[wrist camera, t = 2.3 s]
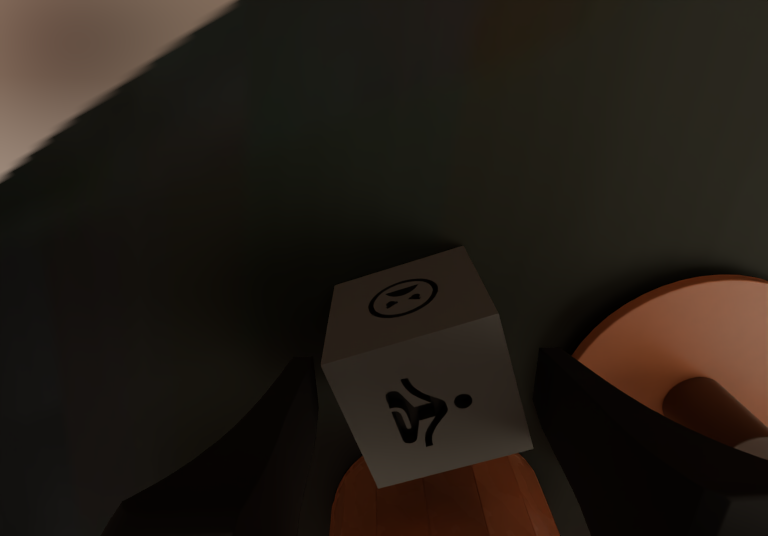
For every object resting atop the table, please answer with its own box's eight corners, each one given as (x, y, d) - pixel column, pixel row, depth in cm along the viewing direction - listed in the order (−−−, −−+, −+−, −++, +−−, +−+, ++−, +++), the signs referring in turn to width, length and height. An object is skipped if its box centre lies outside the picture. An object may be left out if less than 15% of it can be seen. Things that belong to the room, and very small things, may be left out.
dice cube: (334, 285, 17) (320, 365, 12) (463, 245, 16) (498, 313, 12) (376, 387, 19) (378, 488, 14) (493, 354, 18) (533, 448, 14)
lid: (849, 262, 17) (992, 320, 13) (761, 471, 21) (848, 561, 18) (565, 271, 17) (624, 333, 13) (535, 480, 21) (571, 573, 17)
